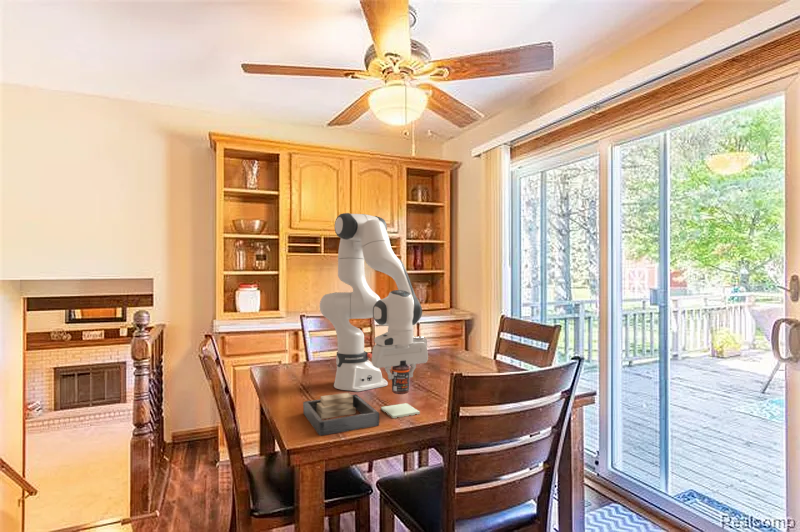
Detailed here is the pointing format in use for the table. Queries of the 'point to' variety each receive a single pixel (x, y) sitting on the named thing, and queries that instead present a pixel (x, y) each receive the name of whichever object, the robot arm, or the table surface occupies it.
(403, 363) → the supplement bottle
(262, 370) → the table surface
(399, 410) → the mat
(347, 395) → the offcut stack
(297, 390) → the table surface
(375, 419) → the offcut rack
